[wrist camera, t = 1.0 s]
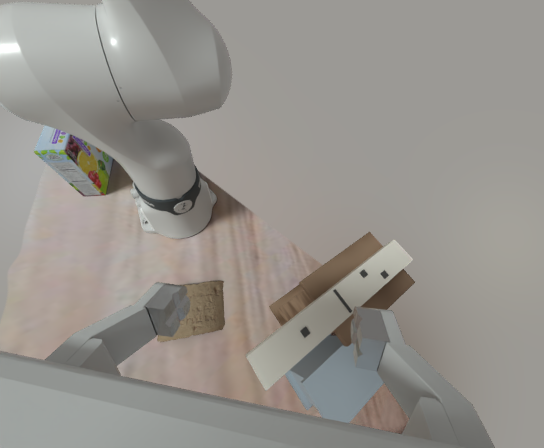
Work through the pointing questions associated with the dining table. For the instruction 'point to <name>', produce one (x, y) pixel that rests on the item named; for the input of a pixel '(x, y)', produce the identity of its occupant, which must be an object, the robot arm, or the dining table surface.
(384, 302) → the walnut pedestal
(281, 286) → the dining table surface
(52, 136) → the snack box
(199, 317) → the clay tablet
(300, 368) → the slate stand
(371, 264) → the domino bar
